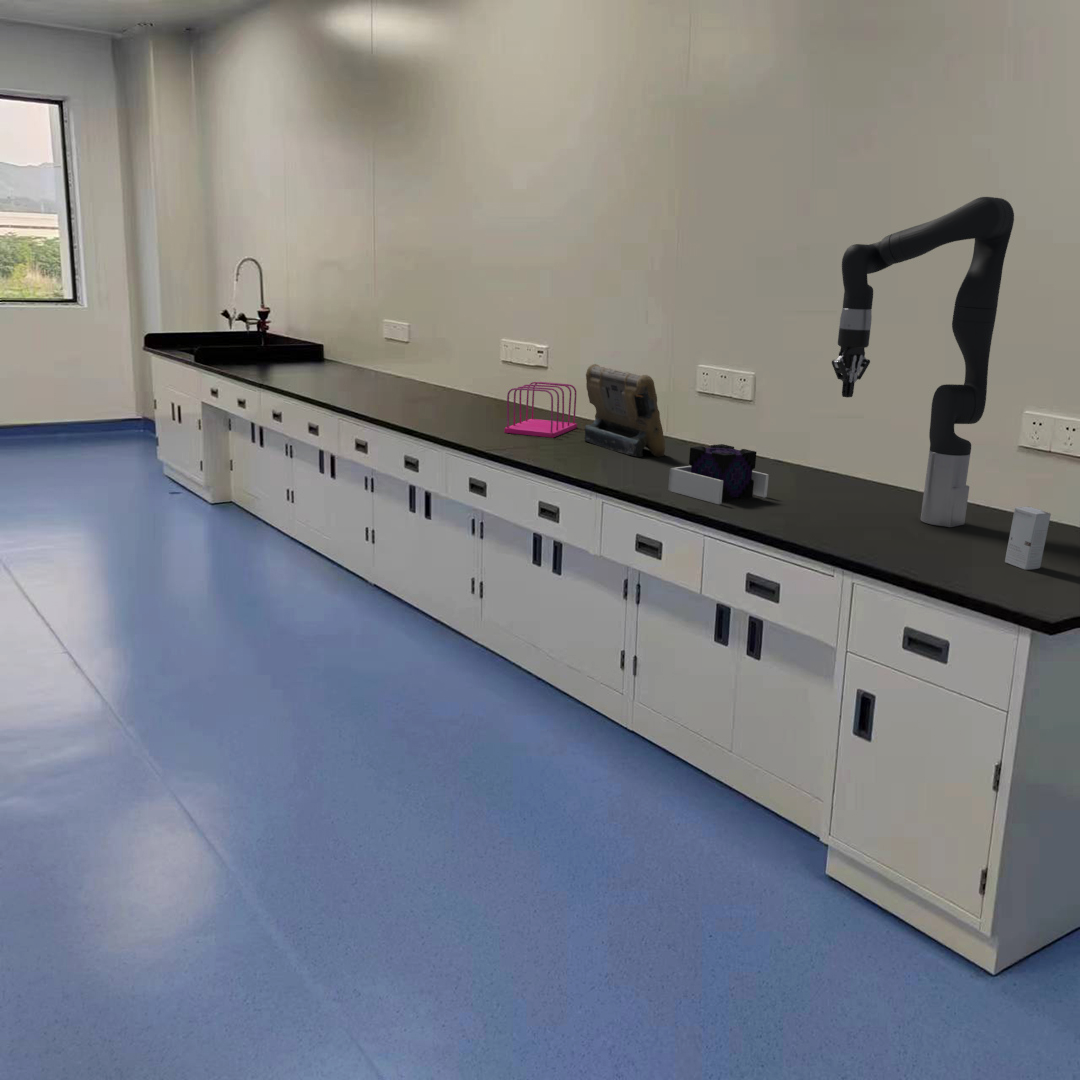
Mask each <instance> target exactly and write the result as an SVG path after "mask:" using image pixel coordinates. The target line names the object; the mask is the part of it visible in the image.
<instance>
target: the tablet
mask: <svg viewBox="0 0 1080 1080" xmlns="http://www.w3.org/2000/svg"><path fill="white" fill-rule="evenodd" d="M585 379H586V383H585V384H586V391H587V397H588V401H589V404H591V405H593V407H594V408H595V414H594V421H593V423H591V424H590V423H589V424H586V425H585V427H584V442H587V443H591V444H592V445H596V446H598V447H601V448H605V449H606V450H607V449H608V450H611V451H614V452H617V453H622V454H625V455H629V456H631V457H637V458H642V457H644V452H643V450H644V449H645V448H647V449H648V450H649V452H650V453H651V454H652V455H653V456H654V457H659V458H660V457H664V456H665V452H666V441H665V437H664V430H663V426H662V422H661V421H662V420H661V416H660V415H661V414H660V410H659V407H658V395H657V392H656V386H655V382H654V380H653V378H652V377H651V376H650V375H648V374H641V375H640V374H636V373H631V372H630V371H622V370H617V369H612V368H608V367H605V366H600V365H599V364H597V363H593V364H590V365H589V366H588V367H587V370H586V372H585Z"/></svg>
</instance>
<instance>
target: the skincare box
mask: <svg viewBox="0 0 1080 1080" xmlns="http://www.w3.org/2000/svg"><path fill="white" fill-rule="evenodd" d="M1051 514H1052V513H1051V512H1048V511H1045V510H1042V509H1039V508H1035V507H1031V506H1028V505H1027V506H1018V507H1017V506H1016V507H1014V511H1013V516H1012V522H1011V527H1010V532H1009V538H1008V543H1007V547H1006V554H1005V559H1004V562H1005V563H1006V564H1009V565H1011V566H1014V567H1017V568H1019V569H1022V570H1025V571H1026V570H1029V571H1030V570H1037V569H1040V568H1041V564H1042V561H1043V555H1044V549H1045V545H1046V540H1047V535H1048V529H1049V524H1050V520H1051Z"/></svg>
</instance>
